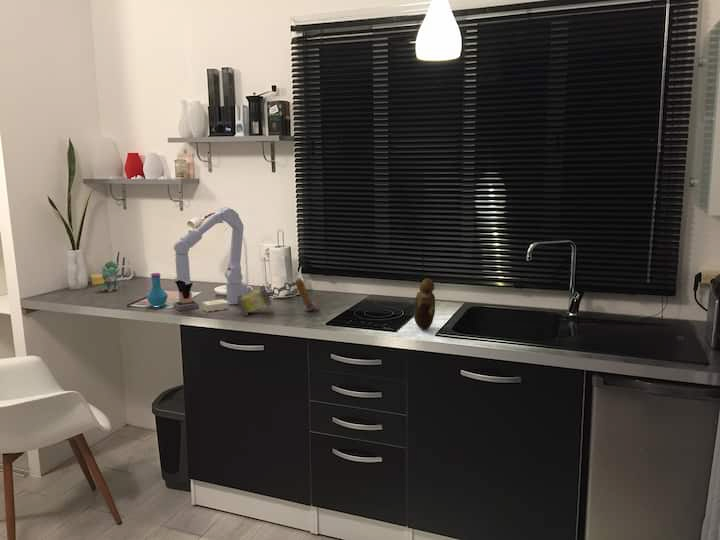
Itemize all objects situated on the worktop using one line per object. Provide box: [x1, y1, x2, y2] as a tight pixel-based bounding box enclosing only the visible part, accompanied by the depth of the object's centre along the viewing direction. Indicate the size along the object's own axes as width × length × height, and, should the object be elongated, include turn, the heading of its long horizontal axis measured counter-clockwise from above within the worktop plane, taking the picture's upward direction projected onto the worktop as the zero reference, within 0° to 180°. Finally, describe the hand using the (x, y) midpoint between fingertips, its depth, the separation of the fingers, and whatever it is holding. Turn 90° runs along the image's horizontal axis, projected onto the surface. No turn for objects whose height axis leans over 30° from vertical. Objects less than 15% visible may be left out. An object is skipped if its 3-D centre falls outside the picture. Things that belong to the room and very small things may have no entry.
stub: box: [178, 291, 193, 303], centre depth 281 cm, size 4×5×4 cm
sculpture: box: [413, 278, 436, 330], centre depth 241 cm, size 13×8×20 cm, turn 167°
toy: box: [101, 260, 120, 293], centre depth 318 cm, size 8×9×15 cm
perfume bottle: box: [146, 272, 169, 307], centre depth 285 cm, size 9×9×15 cm
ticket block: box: [200, 298, 229, 313], centre depth 278 cm, size 10×7×3 cm
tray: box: [173, 299, 200, 312], centre depth 282 cm, size 9×9×2 cm
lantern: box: [237, 277, 318, 317], centre depth 271 cm, size 8×17×30 cm
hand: (184, 297), depth 281 cm, fingers closed on stub, 5 cm apart
